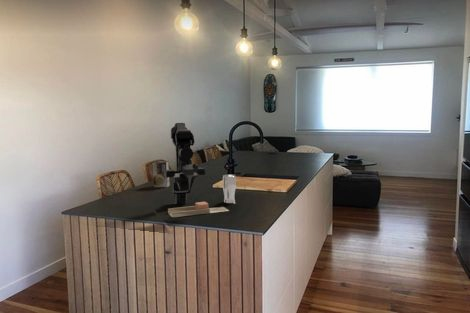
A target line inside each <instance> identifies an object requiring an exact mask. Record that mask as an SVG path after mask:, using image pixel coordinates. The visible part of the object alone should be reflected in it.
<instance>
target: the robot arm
mask: <svg viewBox="0 0 470 313" xmlns="http://www.w3.org/2000/svg"><path fill="white" fill-rule="evenodd" d="M170 139H172V144H173V146H174V147H175V163H176V165H175V166H176V170H174V169H172V168H171V169H170V168H169V170H165V171H164V176H165V177H169V178H173V183H172V194H173V195H175V202H174V203H173V204H174V205H183V206H184V205H187V203H188V199H187V198H188V197H187V196H188V194H191V190H192V186H193V185H194V181H195V179H197V178H198V177H199V176H205V175H206V172H207V171H206V169H205V168H203V167H199V164H198V163H193V164H192V159H193V156H194V151H193V149H192V148H191V146H192V147H193V146H194V144H195V135H194V134H193V132H192V131H191V129H188V128H187V127H186V123H185V122H176V123H174V126H173V127H171V129H170Z"/></svg>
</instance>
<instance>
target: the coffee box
mask: <svg viewBox="0 0 470 313" xmlns="http://www.w3.org/2000/svg"><path fill="white" fill-rule="evenodd" d="M169 162H170V161H169V160H167V161H166V160H165V161H160V160H159V161H154V162H152V175H153V188H169V186H170V177H165V176H164V171H165V170H170V166H169V165H170V163H169Z"/></svg>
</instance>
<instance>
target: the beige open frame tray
mask: <svg viewBox="0 0 470 313" xmlns="http://www.w3.org/2000/svg"><path fill="white" fill-rule="evenodd" d="M220 212H222V213H223V212H230V210H229V209H228V208H227V207H224V206H218V207H209V208H208V209H199V210H195V205H190V206H183V207H182V206H181V207H172V208H167V213H168V215H169V216H170V217H171V218H179V217H187V216H189V217H190V216H196V215H203V214H204V215H205V214H214V213H220Z"/></svg>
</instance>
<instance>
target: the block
mask: <svg viewBox="0 0 470 313" xmlns="http://www.w3.org/2000/svg"><path fill="white" fill-rule="evenodd" d="M194 206H195V210H199V209H208V208H210V207H209V203H208V202H207V201H200V202H199V201H197V202H195V205H194Z"/></svg>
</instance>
